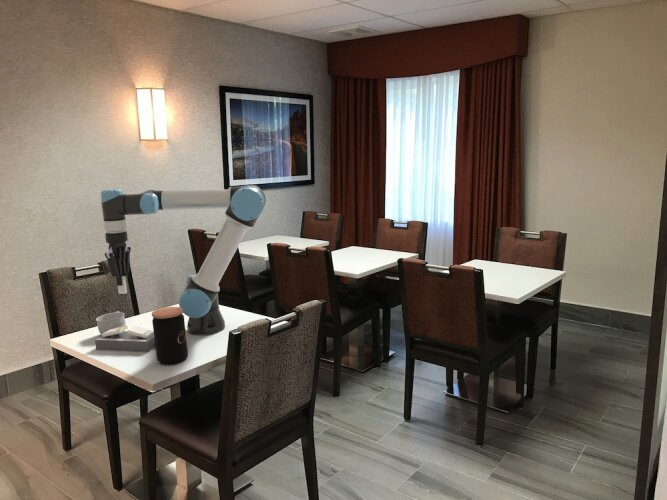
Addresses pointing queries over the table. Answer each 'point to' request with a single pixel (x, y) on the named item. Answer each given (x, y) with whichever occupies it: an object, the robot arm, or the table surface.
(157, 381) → the table surface
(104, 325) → the teacup
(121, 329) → the rocker amber
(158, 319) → the coffee jar
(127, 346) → the power strip
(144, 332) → the white flat packet
